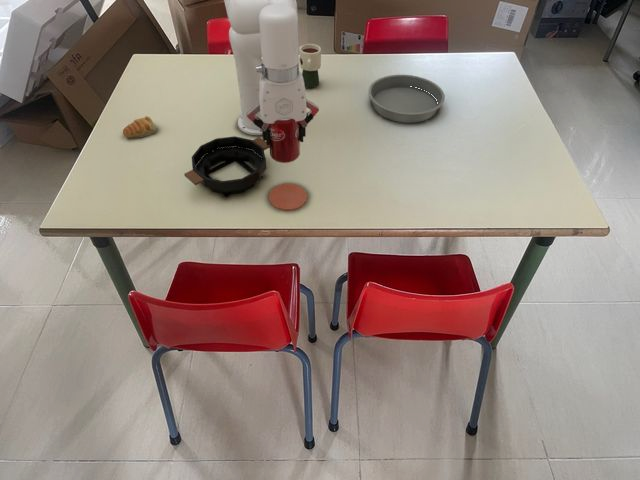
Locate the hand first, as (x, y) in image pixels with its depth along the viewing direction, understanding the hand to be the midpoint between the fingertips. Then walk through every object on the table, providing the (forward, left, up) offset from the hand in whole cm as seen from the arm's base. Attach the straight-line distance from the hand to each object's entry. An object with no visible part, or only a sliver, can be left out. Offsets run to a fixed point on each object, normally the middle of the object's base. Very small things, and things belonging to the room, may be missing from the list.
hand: (284, 140), depth 112 cm
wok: (+6, -17, -18) cm, 25 cm away
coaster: (0, 0, -18) cm, 18 cm away
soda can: (0, 0, -5) cm, 5 cm away
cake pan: (-58, -9, -18) cm, 62 cm away
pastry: (+14, -52, -18) cm, 57 cm away
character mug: (-43, -39, -18) cm, 61 cm away
